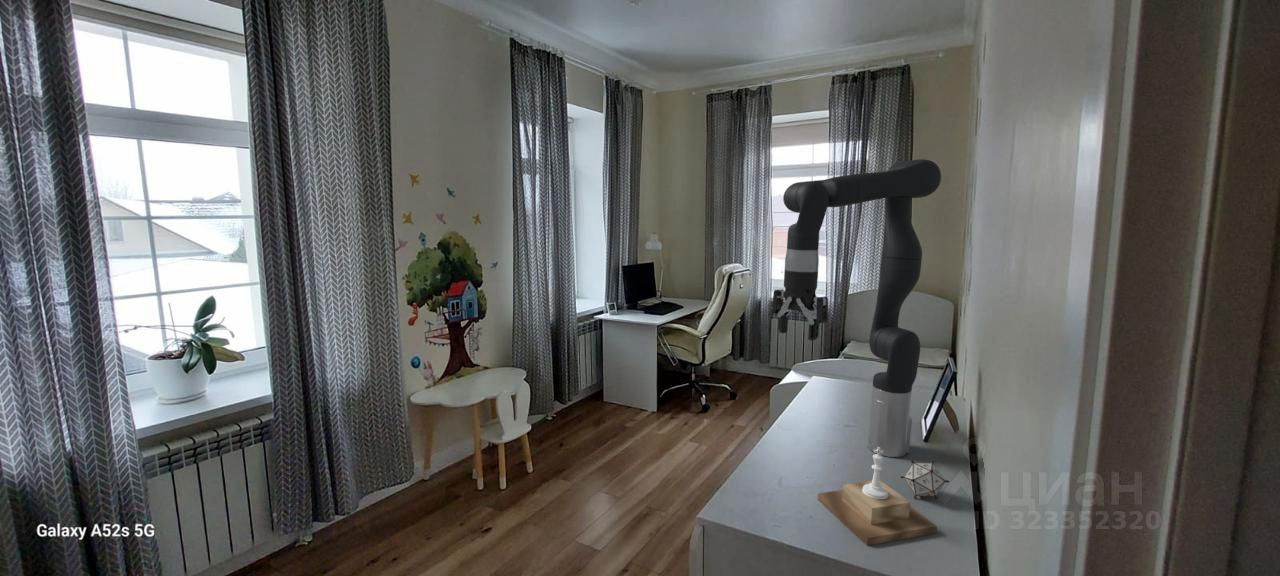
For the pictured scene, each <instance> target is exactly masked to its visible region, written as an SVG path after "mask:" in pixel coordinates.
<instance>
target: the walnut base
mask: <svg viewBox="0 0 1280 576" xmlns="http://www.w3.org/2000/svg"><path fill="white" fill-rule="evenodd" d="M870 483H872V480H868V481H867V480H866V481H860V482H853V483H848V484H847V483H846V484H843V485H842V489H841V490H833V491H825V492H819V493H817V501H819V503H821V504H822V505H823V506H824V507H825V508H826V509H827V510H828V511H829V512H830V513H831V514H832V515H834V517H836V519H838V520H839V521H840V522H842V523H843V525H844V526H846V527H847V528H848V529H849V530H850V531H851V532H852V533H853V535H855V536H856V537H857V538H858V539H859V540H860V541H861V542H863V544H865V545H866V546H870V545H876V544H882V543H887V542H888V543H889V542H893V541H899V540H903V539H909V538H910V539H911V538H917V537H922V536H927V535H934V534H937V528H938V526H937V525H936V524H935V523H933V522H932V521H931V520H929V519H928V518H927V517H926V516H924V515H923V514H922V513H920V512H918V511H917V510H916V509H915V508H913V507H912V506H911V501H910V500H908V499H907V498H905V497H904V496H902V495H901V494H900V493H898V492H897V491H896V490H894V489H893V488H891V487H890V486H888V485H887V484H886V483H884V482H883V481H882V480H880V485H881V486H882V487H884V488H885V489H886V490H887V491H888V497H887V498H886V499H874V498H871V497H869V496H867V495H865V494H864V493H863V491H862V489H863V486H864V485H865V484H870Z"/></svg>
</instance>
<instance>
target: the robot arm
mask: <svg viewBox="0 0 1280 576" xmlns="http://www.w3.org/2000/svg"><path fill="white" fill-rule="evenodd" d="M941 173H942V172H941V168H940V167H939V166H938V164H937V163H935V161H932V160H929V159H923V158H922V159H921V158H920V159H913V160H912V159H910V160H902V161H901V160H900V161H896V162H895V163H893V164H892V165H891V166H890V167H889V168H888V170H887V171H885V170H884V171H876V172H874V171H873V172H862V173H854V174H853V173H851V174H845V175H839V176H834V177H830V178H826V179H818V180H807V181H799V182H794V183H792V184H790V185H789V186H788V187H787V188H786V190H785V191H784V193H783V197H782V199H783V204H784V206H785V208H787V210H788V211H791V212H793V213H799V214H798V217H797V220H796V222H795V223H793V224H790V225H789V227H788V229H787V239H786V241H787V242H786V252H785V258H784V259H785V260H784V272H783V273H784V274H783V275H784V276H783V288H784V289H775V290H774V291H773V295H772V306H771V312H772V314H773V315H776V316H777V317H778V324H777V325H778V326H777V329H778V331H779V333H781V334H786V333H788V327H789V326H788V325H789V324H788V323H789V317H788V316H789V314H790V313H791V312H792V311H793V312H794V311H796V312H798V313H803V315H804V317H806V319H807V320H808V322H809V325H808V334H807V335H808V337H807V338H808V340H809V341H811V342H812V341H815V340H817V338H819V334H820V333H819V332H820V324H825V323H827V322H828V320H829V319H828V316H829V313H828V311H829V309H828V308H829V298H828V296H817V294H816V290H817V288H818V279H819V265H820V264H819V262H820V258H819V257H820V255H819V247H820V243H819V242H820V231H821V228H822V226H823V223H824V220H825V216H826V213H827V211H828V210H827V209H828V208H839V207H840V208H841V207H847V206H852V205H856V204H862V203H866V202H871V201H876V200H881V199H882V200H883V199H884V228H883V239H882V240H883V241H882V249H881V255H880V256H881V258H880V266H879V279H878V280H879V282H878V287H877V297H876V304H875V308H874V309H875V311H874V313H873V318H872V324H871V328H870V333H869V343H868V344H869V350H870V352H871V354H873V355H874V356H875V357H876V358H878V359H881V360H883V361H887V369H886V371H881V372H877V373H875V374H874V375H873V377H872V388H871V399H870V400H871V401H870V402H871V403H870V411H869V412H870V413H869V414H870V415H869V424H868V425H869V426H868V434H867V435H868V436H867V437H868V438H867V448H868V449H869V450H870V451H871V452H873V453H875V452H874V450H877V448H878V447H880V450H883V453H880V455H881V456H883V457H889V458H890V457H891V458H900V457H901V458H902V457H903V456H905V455H906V453H910V446H911V437H912V436H911V434H912V426H913V418H912V417H911V416H910V414H911V412H910V411H911V403H912V401H911V400H912V390H913V385H914V383H915V381H916V378H917V375H918V374H917V373H918V367H919V361H920V354H921V342H920V341H921V340H920V338H919V336H918V335H917V334H916V333H915V332H914V331H912V330H909V329H905V328H901V327H899V319H900V313H901V309H902V306H903V304H904V302H905V300H906V299H907V297H908V296H909V295H910V293H912V291H913V289H914V288H915V286H916V285H917V283H918V282H919V279H920V276H921V268H922V260H923V259H922V258H923V250H922V246H921V243H920V240H919V238H918V236H917V234H916V230H915V228H914V226H913V224H912V219H911V218H912V217H911V206H912V205H911V204H912V199H918V198H919V199H920V198H921V199H922V198H925V197H928V196H930V195H932V194H933V193H935V192H936V191H937V189H938V188H939V186H940V185H941V184H940V183H941V181H942V174H941ZM784 300H785V301H784ZM815 305H816V307H815Z"/></svg>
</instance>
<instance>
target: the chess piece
mask: <svg viewBox="0 0 1280 576" xmlns="http://www.w3.org/2000/svg"><path fill="white" fill-rule="evenodd" d="M873 453H875V454H873V455H872V459H873V463H874V464H872V465H871V468H872V470H873V476H872V480H871V481H872V483H870V484H865V485H864V486H863V489H862V491H863V493H864V494H865V495H867V496H869V497H871V498H874V499H886V498H887V497H888V491H887V490H886V489H885V488H884V487H882V486H881V485H880V481H881V477H880V475H881V474H880V472H881V471H883V470H884V467H883V466H882V463H883V461H884V456H883V455H880V453H883V450H880V447H878V448H877V450H874V452H873Z"/></svg>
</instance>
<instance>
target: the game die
mask: <svg viewBox="0 0 1280 576" xmlns="http://www.w3.org/2000/svg"><path fill="white" fill-rule="evenodd" d="M910 462H911V465H910V467H909V468H908V470H907V471H906V473H905V475H904V476H903V475H900V476H899V478H900V479H904V481H905V482H906V483H907V484H908V487H910V489H911V491H912V492H913V493H914V495H913V500H915V499H917V497H919V496H920V497H934V498H935V499H936V500H939V497H938V493H939V491H940V490H942V487H943V486H944V484H945V483H950V481H949V480H947V479H945V478H944V477H943V476H942V474H941V473H940V471H939V470H938V468H937V467H936V466H935V464H934V463H935V459H933V460H931V462H914V460H913V459H910Z"/></svg>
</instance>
